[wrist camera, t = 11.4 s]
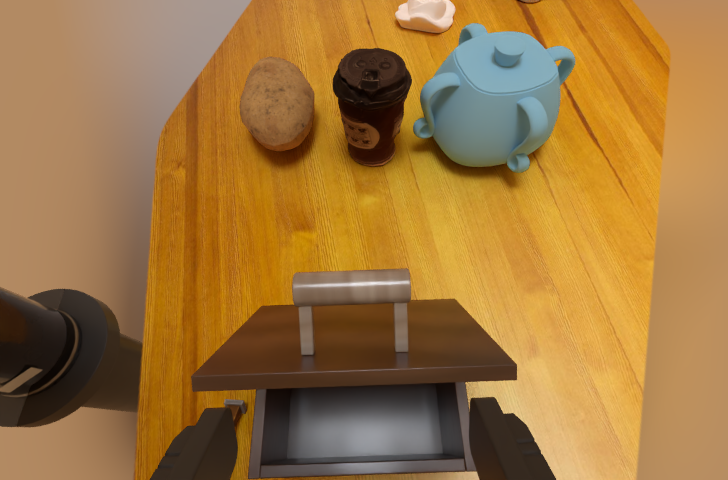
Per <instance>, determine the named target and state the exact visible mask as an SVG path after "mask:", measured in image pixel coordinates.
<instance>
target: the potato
mask: <svg viewBox="0 0 728 480" xmlns="http://www.w3.org/2000/svg"><path fill="white" fill-rule="evenodd" d="M240 115H241V119H242V122H243V123H244V125H245V126H246V127H247V129H248V130H249V131H250V133H251V134H252V135H253V136H254V137H255V138H256V139H257V141H258V142H259V143H260V144H262V145H263V146H264V147H265V148H267V149H270V150H274V151H284V150H289V149H293V148H295V147H297V146H299V145H300V144H301V143H302V141H303V140H304V139H305V138H306V136H307V134H308V133H309V131H310V130H311V126H312V123H313V116H314V91H313V90H312V88H311V86H310V84H309V83H308V81H307V80H306V78H305V77H304V75H303V74H302V72H301V71H300V69H299V68H298V67H297V66H295V65H294V64H293V63H291V62H289V61H287V60H285V59H282V58H277V57H267V58H263V59H260V60H259V61H258V62H257V63H256V64H255V65H254V66H253V68H252V69H251V71H250V73H249V76H248V78H247V81H246V84H245V88H244V91H243V93H242V96H241V101H240Z"/></svg>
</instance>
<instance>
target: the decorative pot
mask: <svg viewBox="0 0 728 480" xmlns="http://www.w3.org/2000/svg"><path fill="white" fill-rule="evenodd" d="M558 60H562V61H561V63H560V64H559V66H558V67H557V65H556V63H555V61H558ZM574 65H575V57H574V55H573V53H572V52H571V51H570V50H569V49H568V48H566V47H563V46H555V47H551V48H549V49H546V50H545V49H544V47H543V46H542V45H541V44H540V43H539V42H538V41H537V40H535V39H534V38H533V37H531V36H530V35H528V34H525V33H521V32H496V33H489V34H488V33H487V31H486V29H485V27H484V26H483V25H481V24H478V23H473V24H469V25H467V26H465V27H464V28H463V29H462V31H461V34H460V38H459V46H458V47H457V48H455V50H454V51H453V52H452V53H451V54H450V55H449V56H448V57H447V59H446V60H445V61H444V62H443V64H442V65H441V66H440V68H439V69H438V71H437V72H436V74H435V75H434V77H433V78H432V79H430V80H429V81H428V82H427V83H426V84H425V85H424V87H423V88H422V91H421V95H420V101H421V107H422V110H423V113H424V116H425V118H420V119H418V120H417V121H416V122H415V123H414V126H413V131H414V134H415V135H416V136H417V137H419V138H424V139H425V138H429V137H431V136H433V138H434V139H435V141H436V142H437V144H438V145H439V147H440V148H441V150H442V151H443V152H444V153H445V154H446V155H447V156H448V157H449V158H450V159H451V160H452V161H454V162H456V163H458V164H461V165H464V166H471V167H485V166H495V165H500V164H505V163H507V165H508V167H509V168H510V170H512V171H513V172H516V173H522V172H524V171H526V170H527V169H528V168H529V166H530V160H529V158H528V156H527V155H528V154H530V153H532V152H534V151H535V150H536V149H538V148H539V147H540V146H541V145H543V144H544V143H545V142H546V141H547V139H548V138H549V137H550V135H551V133H552V131H553V128H554V126H555V123H556V120H557V116H558V112H559V106H560V85H561V84H562V83H563V82H564V81H565V80H566V78H567V77H568V76H569V74H570V73H571V71H572V70H573V68H574Z"/></svg>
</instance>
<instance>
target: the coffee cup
mask: <svg viewBox="0 0 728 480" xmlns="http://www.w3.org/2000/svg"><path fill="white" fill-rule="evenodd" d="M411 83H412V79H411V75H410V73H409V71H408V70H407V68H406V66H405V63H404V61H403V59H402V58H401V57H400V56H398V55H397V54H396V53H394V52H391V51H388V50H384V49H380V48H375V49H356V50H352V51H351V52H350V53H348V54H346V56H344V58H343V59H341V62H340V63H339V66H338V70H337V71H336V73H335V75H334V78H333V91H334V93H335V95H336V97H338V104H339V108H340V112H341V117H342V122H343V125H344V130H345V135H346V138H347V140H348V142H349V143H348V150H349V153H350V155H351V156H352V158H353V159H354V160H355V161H357V162H359V163H361V164H364V165H369V166H378V165H384V164H386V163H387V162H388V161H390V160H391V159H392V157H393V156H394V154H395V144H394V138H395V136H396V135H397V134H398V133H399V132H400V126H401V122H402V119H403V116H404V114H403V113H404V101H405V99H406V98H407V94H408V91H409V89H410V86H411Z"/></svg>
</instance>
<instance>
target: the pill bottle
mask: <svg viewBox="0 0 728 480" xmlns="http://www.w3.org/2000/svg"><path fill="white" fill-rule="evenodd" d="M520 1H523V2H528V3H532V2H537V1H540V0H520Z"/></svg>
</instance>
